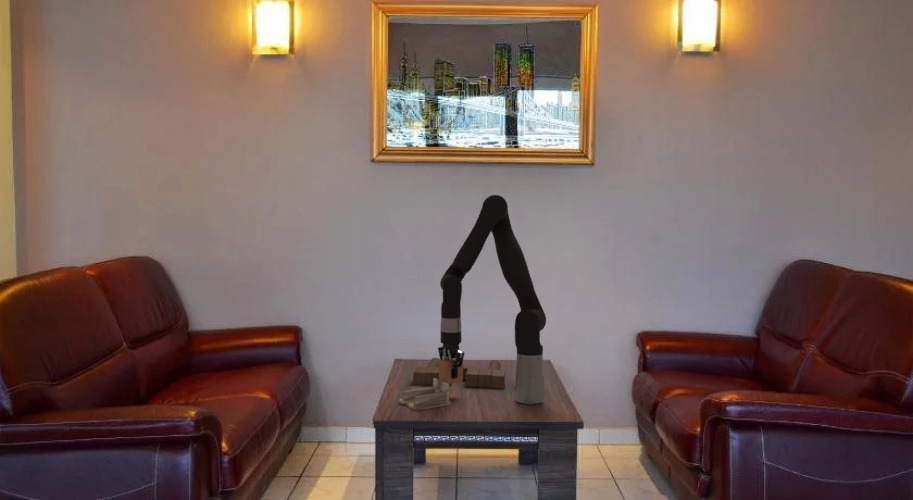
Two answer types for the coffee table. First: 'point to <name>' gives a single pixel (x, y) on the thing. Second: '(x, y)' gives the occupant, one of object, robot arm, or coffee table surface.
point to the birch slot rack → (427, 396)
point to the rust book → (449, 372)
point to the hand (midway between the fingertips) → (451, 377)
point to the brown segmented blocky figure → (470, 374)
